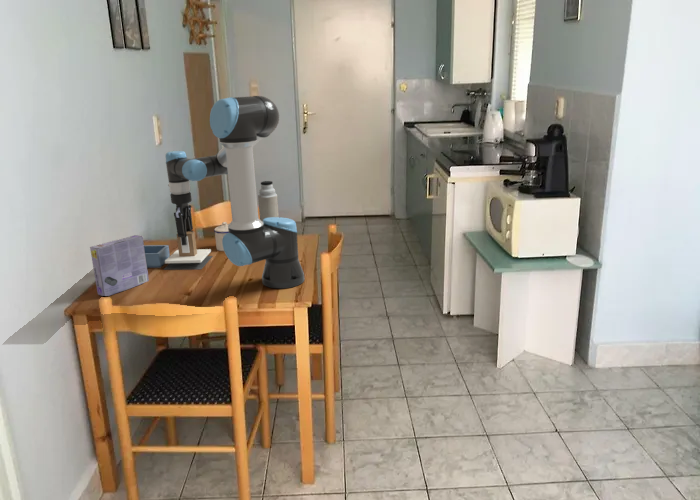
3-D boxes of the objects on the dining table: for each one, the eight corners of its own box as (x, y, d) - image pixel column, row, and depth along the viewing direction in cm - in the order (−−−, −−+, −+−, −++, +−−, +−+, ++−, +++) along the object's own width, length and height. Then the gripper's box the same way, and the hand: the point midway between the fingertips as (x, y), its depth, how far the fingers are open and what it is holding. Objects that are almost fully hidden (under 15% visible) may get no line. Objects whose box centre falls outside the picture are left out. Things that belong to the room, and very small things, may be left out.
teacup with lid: (230, 253, 238) (227, 226, 235) (211, 251, 242) (209, 224, 238) (245, 244, 249) (243, 218, 245) (227, 242, 252) (225, 217, 249)
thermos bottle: (273, 242, 252) (268, 179, 243) (284, 245, 246) (280, 181, 237) (258, 246, 246) (253, 182, 238) (269, 249, 241) (264, 184, 232)
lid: (200, 262, 219) (197, 237, 216) (164, 263, 220) (161, 238, 216) (211, 251, 232) (208, 227, 229) (177, 252, 233) (174, 228, 230)
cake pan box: (144, 278, 212) (137, 232, 207) (152, 281, 210) (145, 234, 204) (96, 295, 197) (88, 246, 192) (105, 298, 195) (96, 249, 189)
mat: (201, 270, 219) (201, 269, 219) (163, 270, 220) (163, 269, 220) (213, 256, 234) (213, 255, 234) (177, 257, 235) (177, 256, 235)
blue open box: (160, 268, 222) (158, 253, 220) (132, 268, 223) (130, 254, 221) (170, 259, 233) (168, 245, 231) (143, 259, 233) (141, 245, 231)
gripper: (178, 188, 226) (185, 244, 233) (162, 197, 210) (171, 257, 217) (196, 187, 226) (203, 244, 233) (182, 196, 210) (190, 257, 217)
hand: (187, 250), depth 225 cm, fingers closed on lid, 3 cm apart
